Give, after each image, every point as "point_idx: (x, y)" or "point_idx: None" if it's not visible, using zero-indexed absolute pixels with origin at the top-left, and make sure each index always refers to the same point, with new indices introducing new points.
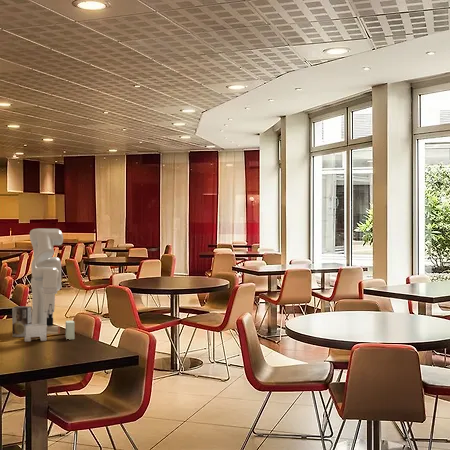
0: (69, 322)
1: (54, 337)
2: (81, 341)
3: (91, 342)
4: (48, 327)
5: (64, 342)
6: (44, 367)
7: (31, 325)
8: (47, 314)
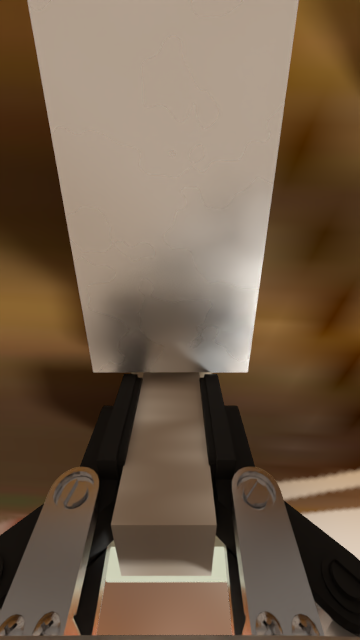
0: (116, 560)
1: None
2: (50, 468)
3: (15, 497)
4: (133, 372)
5: (19, 398)
6: None
7: (91, 131)
8: (61, 565)
